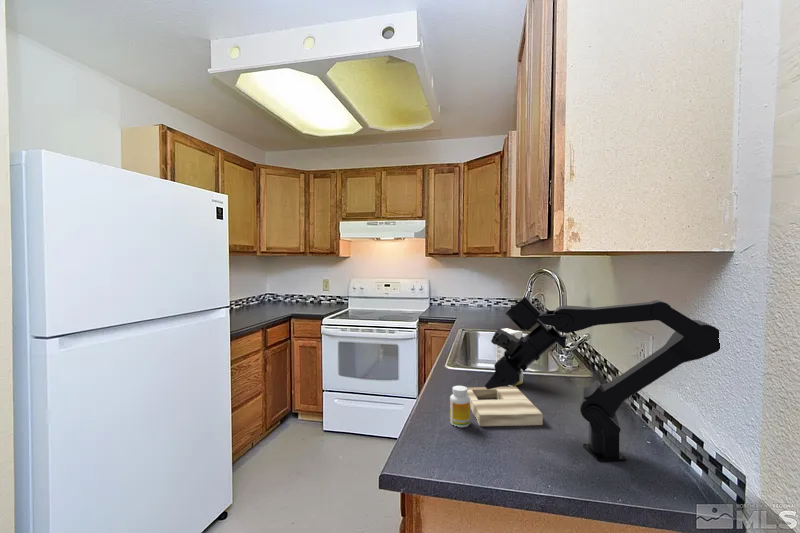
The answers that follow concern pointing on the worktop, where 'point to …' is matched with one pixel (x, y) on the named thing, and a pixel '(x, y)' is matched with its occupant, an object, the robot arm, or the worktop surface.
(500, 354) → the juice carton
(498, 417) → the socket board
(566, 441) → the worktop surface
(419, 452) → the worktop surface
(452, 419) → the supplement bottle
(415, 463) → the worktop surface
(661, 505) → the worktop surface
